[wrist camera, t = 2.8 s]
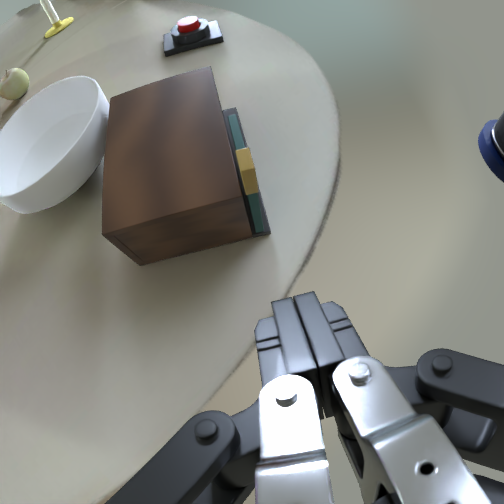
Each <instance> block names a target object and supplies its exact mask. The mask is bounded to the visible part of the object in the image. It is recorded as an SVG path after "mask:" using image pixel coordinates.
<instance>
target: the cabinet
mask: <svg viewBox="0 0 504 504" xmlns="http://www.w3.org/2000/svg"><path fill="white" fill-rule="evenodd" d="M234 114H236V116H237V120H238V123H239V127H240V130H241V134H242V138H243V141H244V145H245V148H247V144H246V141H245V137H244V134H243V130H242V127H241V123H240V120H239V116H238V113H237V109H236V107H235V108H230V109H226V110H222V108H221V105H220V101H219V97H218V93H217V89H216V85H215V81H214V77H213V73H212V69H211V66H209V67H205V68H201V69H197V70H193V71H190V72H186V73H183V74H179V75H176V76H172V77H169V78H166V79H163V80H160V81H156V82H153V83H150V84H147V85H144V86H142V87H139V88H136V89H133V90H130V91H128V92H125V93H122V94H120V95H117V96H114V97H112V98H111V99H110V107H109V115H108V124H107V133H106V144H105V156H104V172H103V194H102V235H103V236H104V237H105V238H106V239H107V240H109V241H110V242H111V243H112V244H113V245H115V246H116V247H117V248H118V249H120V250H121V251H122V252H123V253H124V254H126V255H127V256H128V257H129V258H131V259H132V260H133V261H134V262H136V263H137V264H138V265H139V266H141V265H145V264H149V263H153V262H157V261H161V260H165V259H169V258H173V257H177V256H181V255H185V254H189V253H193V252H197V251H201V250H205V249H209V248H213V247H217V246H221V245H225V244H229V243H233V242H237V241H241V240H245V239H250V238H254V237H258V236H262V235H266V234H270V233H271V231H270V227H269V224H268V220H267V216H266V212H265V209H264V205H263V201H262V198H261V194H260V190H259V187H258V190H259V192H258V198H259V204H260V209H261V215H262V221H263V227H264V231H262V232H258V233H256V231H255V227H254V222H253V218H252V214H251V210H250V206H249V202H248V198H247V195H246V193H245V189H244V185H243V181H242V177H241V172H240V168H239V164H238V160H237V156H236V152H235V151H236V150H235V146H234V142H233V137H232V133H231V129H230V125H229V121H228V116H230V115H234ZM257 184H258V183H257Z"/></svg>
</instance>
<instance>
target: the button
mask: <svg viewBox="0 0 504 504" xmlns="http://www.w3.org/2000/svg"><path fill="white" fill-rule="evenodd" d="M177 25H178V29H179V32H180V33H187V32H191V31H194V30H196V29H198V28H199V27H200V25H199V21H198V18H197V17H196V16H189V17H185V18H183V19H181V20H179V21H178V22H177Z"/></svg>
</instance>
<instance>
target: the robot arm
mask: <svg viewBox="0 0 504 504" xmlns="http://www.w3.org/2000/svg"><path fill="white" fill-rule="evenodd" d="M491 140H492V143H493V146H494V148H495V150H496V151H497V153H498V154H499V156H500V157H501V158H502V160H503V161H504V111H503V113H502V115H501V116H500V118H499V120H498V121H497V123H496V124H495V125H494V126H493V128H492V130H491ZM293 301H294V302H293ZM271 304H272V309H273V313H274V316H273V317H269V318H265V319H261V320H259V321H258V323H257V326H256V328H255V330H254V332H255V339H256V346H257V353H258V359H259V366H260V374H261V381H262V390H261V392H260V395H259V398H258V399H257V400H256V402H255V403H254V404H252V405H251V406H250V407H248V408H247V409H245V410H243V411H241V412H239V413H237V414H235V415H232V416H229V415H227V414H226V413H224V412H221V411H205V412H201V413H199V414H197V415H195V416H193V417H192V418H191V419H189V420H188V421H187V422H186V423H185V424H184V426H183V427H182V428H181V429H180V430H179V431H178V432H177V433H176V434H175V435H174V436H173V437H172V438H171V439H170V440H169V441H168V442H167V443H166V444H165V445H164V446H163V447H162V448H161V449H160V450H159V451H158V452H157V453H156V454H155V455H154V456H153V457H152V458H151V460H150V461H149V462H148V463H146V464H145V465H144V466H143V467H142V468H141V469H140V470H139V471H138V472H137V473H136V474H135V475H134V476H133V477H132V478H131V479H130V480H129V481H128V482H127V483H126V484H125V485H124V486H123V487H122V488H121V489H120V490H119V491H118V492H117V493H116V494H115V495H113V496H112V497H111V498H110V499H109V500H108V501H107V502H106V503H105V504H243V502H244V501H245V500H246V498H247V497H248V496H249V495H250V493H251V492H252V490H253V489H254V488H255V504H334V498H333V492H332V486H331V480H330V475H329V469H328V463H327V458H326V453H325V449H324V444H323V433H322V426H321V419H324V415H323V409H324V413H325V416H326V418H328V417H332V416H334V417H335V420H336V423H337V426H338V436H339V439H340V441H341V444H342V446H343V448H344V450H345V452H346V455H347V457H348V460H349V462H350V464H351V466H352V469H353V471H354V473H355V476H356V478H357V480H358V483H359V486H360V488H361V494H362V498H363V501H364V504H504V483H502V482H499V481H495V480H493V479H490V478H487V477H484V476H481V475H476V474H472V473H471V471H470V469H469V468H468V467H467V465H466V463H465V462H464V460H463V459H465V460H468V461H471V462H474V463H477V464H480V465H483V466H486V467H490V468H492V469H495V470H499V471H502V472H504V365H502V364H498V363H495V362H491V361H487V360H484V359H480V358H477V357H474V356H470V355H466V354H463V353H459V352H456V351H452V350H449V349H434V350H431V351H428V352H426V353H425V354H423V355H422V356H421V357H420V359H419V360H418V362H417V365H416V366H408V367H388V366H384V365H383V364H382V363H381V362H380V361H379V360H377V359H375V358H373V357H371V356H370V355H369V353H368V351H367V350H366V348H365V346H364V344H363V342H362V341H361V339H360V337H359V335H358V334H357V332H356V330H355V328H354V327H353V325H352V323H351V322H350V319H348V316H347V314H346V313H345V311H344V309H343V308H342V307H341V306H339V305H338V304H336V303H334V302H333V301H331V302H327V303H323V304H320V302H319V301H318V298H317V296H316V294H315V292H314V291H312V292H309V293H304V294H300V295H297V296H293V299H292V297H289V298H285V299H281V300H277V301H273V302H271ZM322 407H323V408H322Z"/></svg>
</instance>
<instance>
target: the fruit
mask: <svg viewBox="0 0 504 504" xmlns="http://www.w3.org/2000/svg"><path fill="white" fill-rule="evenodd" d="M28 87H29V78H28V75H27V74H26V72H25V71H23V70H22V69H19V68H13V69H11V70H9V71H8V72H7V70H6V74H5V75H4V76H3V77H2V79H1V80H0V95H1V96H2V97H3V98H5V99H7V100H16V99H18V98H20V97H21V96H23V95H24V94H25V92H26V91H27V89H28Z"/></svg>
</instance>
